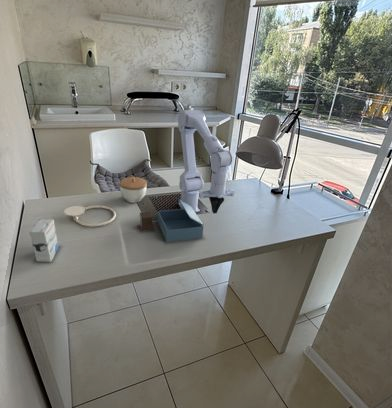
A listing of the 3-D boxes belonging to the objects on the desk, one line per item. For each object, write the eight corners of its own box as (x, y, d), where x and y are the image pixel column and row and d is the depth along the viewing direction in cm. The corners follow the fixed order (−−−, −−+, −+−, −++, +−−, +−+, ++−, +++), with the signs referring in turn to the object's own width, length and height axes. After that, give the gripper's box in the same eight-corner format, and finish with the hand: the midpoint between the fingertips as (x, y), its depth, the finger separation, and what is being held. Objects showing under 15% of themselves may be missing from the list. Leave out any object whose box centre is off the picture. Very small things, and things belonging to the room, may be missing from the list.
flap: (178, 199, 123) (178, 198, 123) (190, 207, 127) (191, 206, 127) (189, 217, 111) (190, 217, 111) (203, 225, 115) (203, 225, 115)
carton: (157, 222, 126) (157, 211, 123) (190, 218, 130) (191, 208, 128) (166, 242, 113) (166, 230, 110) (202, 238, 118) (203, 226, 115)
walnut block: (139, 226, 122) (139, 212, 118) (150, 224, 123) (150, 211, 120) (141, 231, 118) (141, 218, 115) (152, 230, 120) (152, 216, 116)
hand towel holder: (120, 214, 120) (66, 222, 111) (120, 223, 122) (67, 232, 114) (110, 196, 133) (61, 202, 124) (111, 205, 135) (63, 211, 126)
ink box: (44, 246, 105) (38, 218, 99) (59, 247, 105) (54, 218, 99) (35, 261, 97) (28, 232, 91) (51, 262, 98) (44, 232, 92)
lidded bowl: (151, 197, 146) (151, 176, 140) (139, 207, 135) (138, 185, 130) (129, 191, 149) (128, 171, 143) (115, 201, 138) (113, 180, 133)
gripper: (204, 187, 109) (201, 218, 116) (239, 184, 113) (234, 215, 120) (198, 179, 114) (195, 210, 121) (231, 177, 119) (227, 207, 126)
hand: (214, 212), depth 121 cm, fingers closed
